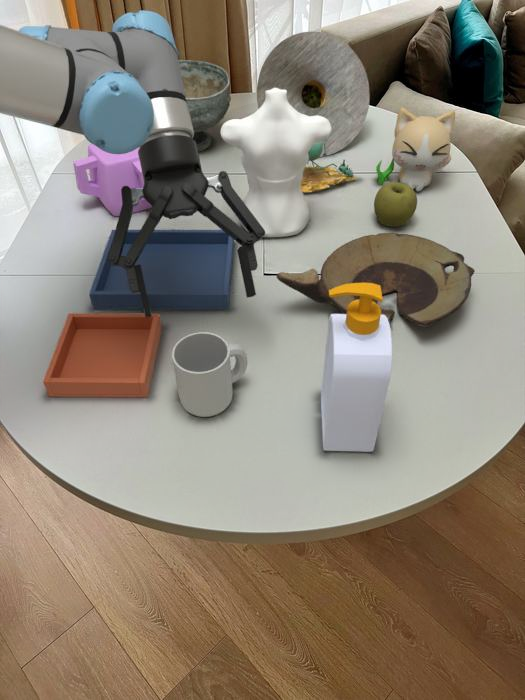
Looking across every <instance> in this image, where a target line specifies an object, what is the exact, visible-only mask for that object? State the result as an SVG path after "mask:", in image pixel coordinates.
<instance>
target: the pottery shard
mask: <svg viewBox="0 0 525 700" xmlns="http://www.w3.org/2000/svg"><path fill="white" fill-rule="evenodd" d="M448 267H453V269H452V271H450V272H449V273H447V272H446V271H445V269H446V268H448ZM475 272H476V271H475V269H474V268H473V267H471V266H469V265H468V263H465V257H464V255H463V254H462V253H459V252H457V251H452V250H450V249H449V248H448V247H446V246H444V245H442V244H441V243H438V242H436V241H434V240H431V239H429V238H425V237H422V236H419V235H418V236H417V235H415V234H414V235H413V234H408V233H398V232H384V233H383V232H382V233H381V232H380V233H377V234H369V235H364V236H361V237H358V238H355V239H352V240H350V241H348V242H345V243H344V244H342V245H340V246H339V247H337V248H336V249H335V250H333V252H332V253H331V254H330V255H328V257H326V259H325V260H324V262H323V264H322V267H321V269H320V275H319V273H318V271H317V270H316V269H315V268H310V269H309V270H306V271H304V272H301V273H293V272H292V273H291V272H285V271H281V272H278V273H276V275H275V277H276V280H278V281H279V282H280V283H282V284H284V285H285V286H287V287H289V288H290V289H293V290H294V291H296V292H299V293H300V294H302V295H303V296H305V297H307V298H309V299H310V300H311V301H314V302H316V303H319V304H332V305H333V306H334V307H335V308H336V309H337V310H338V311H339V312H341V313H342V314H347V308H348V305H349V304H350V303H351V302H352V301H355V300H358V299H360V296H355V295H342V296H336V297H331V298H330V296H329V290H331V289H333V288H335V287H338V286H341V285H344V284H351V283H374V284H377V285H380V287H381V292H382V296H385V295H386V294H390V293H392V292H396V293H397V296H396V308H397V310H398V313H399V314H401V316H402V317H404V318H405V319H406V320H408V321H410V322H411V323H414V324H416V325H418V326H421V327H428V326H432V325H434V324H437V323H439V322H441V321H443V320H444V319H446V318H448V317H450V316H451V315H453V314H454V313H456V312H457V311H458V310H459V309H460V308H461V307H462V306H463V304H464V303H465V302H466V301H467V299H468V297H469V295H470V292H471V289H472V276H474V274H475ZM372 301H373V302H375V303H376V304H378V300H376V299H372ZM380 308H381V315H385V316H386V317H387V318H388V322H389V323H390V321H391V320H392V319H393V317H394V316H395V314H396V312H395V310H394V309H390V306H389V307H382V306H380Z"/></svg>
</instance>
